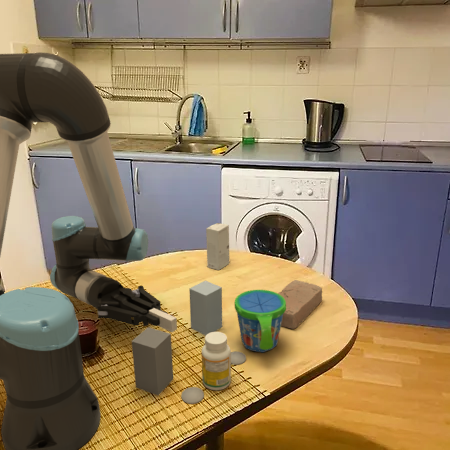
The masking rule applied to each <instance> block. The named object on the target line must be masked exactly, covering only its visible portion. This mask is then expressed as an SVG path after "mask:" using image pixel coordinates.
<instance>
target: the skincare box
mask: <svg viewBox="0 0 450 450" xmlns="http://www.w3.org/2000/svg"><path fill="white" fill-rule="evenodd" d="M229 227H230V225H229V224H227V223H226V224H225V223H220V222H217V223H214V224H212V225H209V226H208V227H206V229H205V230H206V231H205V233H206V237H205V238H206V239H205V240H206V262H207V263H206V266H207V268H209V269H212V270H217V271H220V270H222V269H223V268H224V267H227V266H228V265H229V264H230V231H229V230H230V228H229Z"/></svg>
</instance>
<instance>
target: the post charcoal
mask: <svg viewBox="0 0 450 450" xmlns="http://www.w3.org/2000/svg"><path fill="white" fill-rule="evenodd" d="M131 348H132V349H131V350H132V351H131V353H132V360H133V371H134V384H135V388H136V389H138V390H141V391H144V392H147V393H150V394H153V395H155V396H160V395H161V394H162V392H164V391H165V389H166V388H167V387H168V386H169V385H170V384H171V383H172V381H174V370H173V369H174V368H173V367H174V365H173V349H172V333H171V332H166V331H162V330H159V329H156V328H152V327H148V326H147V328H146V329H145V330H143V331H142V332H141V333H140V334H139V335H137V336H136V337H134V339H133V340H131Z"/></svg>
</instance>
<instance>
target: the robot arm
mask: <svg viewBox="0 0 450 450" xmlns="http://www.w3.org/2000/svg"><path fill="white" fill-rule="evenodd" d="M110 119H111V118H110V117H109V112H108V108H107V106H106V104H105V102H104V100H103V98H102V96H101V94H100V92H99V91H98V89H97V88H96V86H95V85H94V84H93V82H92V81H91V80H90V78H88V76H86V74H85V73H84V72H83V71H82V70H81V69H79V68H78V67H77V66H76V65H74V64H73V62H70V61H69V60H68V59H66V58H64V57H62V56H59V55H57V54H54V53H50V52H33V53H31V52H29V53H28V52H26V53H25V52H24V53H23V52H22V53H0V257H1V255H2V249H3V243H4V239H5V238H4V237H5V232H6V225H7V220H8V214H9V209H10V202H11V197H12V190H13V184H14V179H15V172H16V166H17V161H18V157H19V155H18V153H19V151H20V150H19V149H20V145H21V144H22V143H25V142H26V141H28V140H29V139H30V138H31V133H32V128H33V124H34V123H49V124H51V125H53V126H54V127H55V128H56V132H57V133H58V136H59V138H60V139H62V140H63V141H65V142H67V144H68V147H69V150H70V152H71V155H72V158H73V160H74V164H75V166H76V169H77V172H78V175H79V178H80V180H81V184H82V186H83V188H84V191H85V195H86V197H87V200H88V202H89V206H90V208H91V211H92V214H93V216H94V219H95V222H96V223H95V224H96V226H97V227H96V226H86V225H87V224H86V221H85V219H84V218H83V217H81V216H77V215H67V216H62V217H59V218H57V219H55V220H54V221H53V222H52V223H51V236H52V238H51V241H52V243H53V249H54V250H53V251H54V256H55V263H56V264H55V265H53V267H52V268H51V272H50V275H49V280H50V283H51V285H52V286H53V287H54V288H55V289H53V288H47V287H40V286H38V287H37V286H32V287H30V286H29V287H25V289H20V288H17V289H13V290H12V289H11V290H10V291H7V292H5V290H6V289H5V288H4V286H3V285H2V284H1V283H0V380H2V382H3V386H4V389H5V390H4V391H5V395H6V401H5V407H4V411H3V417H2V418H3V419H2V422H1V427H0V429H1V430H0V431H1V438H2V439H1V440H2V443H3V447H4V450H79V449H81V448H82V447H83V446H85V444H87V443H88V442H89V441H90V440H91V439H92V437H93V436H94V435H95V433H96V432H97V430H98V428H99V426H100V423H101V408H100V402H99V399H98V397H97V396H96V393H95V392H94V390H93V388H92V387H91V386H90V384H89V382H88V380H87V378H86V377H85V371H84V363H83V357H82V349H81V341H80V333H79V329H80V328H79V327H80V325H79V321H78V318H77V314H76V311H75V307H74V304H73V302H71V300H70V298H69V297H73V298H74V299H77V300H79V301H80V302H83V303H85V304H86V305H88V306H91V307H93V308H94V309H96V310H97V317H98V318H99V319H108V320H112V321H115V322H120V323H124V324H127V325H131V326H136V327H137V326H140V323H142V325H143V327H148V326H149V325H150V326H151V325H152V326H153V327H159V328H161V329H164V330H165V331H167V332H169V333H174V332H175V331H176V330H178V324H177V323H178V319H177V317H176V316H173V315H171V314H169V313H168V311H164V310H163V309H162V308H161V306H162V305H161V301H160V300H159V299H157V297H155V296H153V295H152V294H151V293H149V292H148V291H147V290H146V289H145V287H144V286H143V285H138V286H137V288H136V289H132V288H130V287H124V286H123V285H122V284H121V282H120V281H118V280H117V279H114V278H112V277H109V276H106V275H105V274H103V273H100V272H98V271H95V270H93V269H91V267H90V260H103V261H119V262H139V261H143V260H144V259H145V258H146V255H147V253H148V250H149V236H148V233H147V231H146V230H145V229H142V228H138V227H136V228H135V226H134V223H133V220H132V217H131V211H130V208H129V205H128V201H127V198H126V194H125V190H124V187H123V184H122V183H123V182H122V180H121V176H120V172H119V169H118V166H117V161H116V158H115V154H114V151H113V147H112V144H111V141H110V137H109V133H108V132H109V130H110V129H111V124H112V123H111V120H110ZM56 289H57V290H56ZM67 295H68V296H69V297H67Z"/></svg>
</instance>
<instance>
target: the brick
mask: <svg viewBox="0 0 450 450" xmlns="http://www.w3.org/2000/svg"><path fill="white" fill-rule="evenodd" d="M278 294H280V295H281V296H282V297H283V298H284V299H285V301H286V311H285V312H284V313H283V318H282V323H281V327H285V328H288V329H290V330H294V329H297V328H298V327H299V326H300V325H301V323H303V322H304V320H306V319H307V318H308V317H309V315H310V314H311V313H312V312H313V311H314V309H316V308H317V307H318V305H320V304H321V302H322V301H323V288H322V287H321V286H320V285H317V284H316V283H315V284H314V283H309V282H307V281H303V280H302V281H301V280H297V279H294V280H292V281H291V282H289V283H288V284H287V285H286V286H284V288H282V289H281V291H280V292H278Z"/></svg>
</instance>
